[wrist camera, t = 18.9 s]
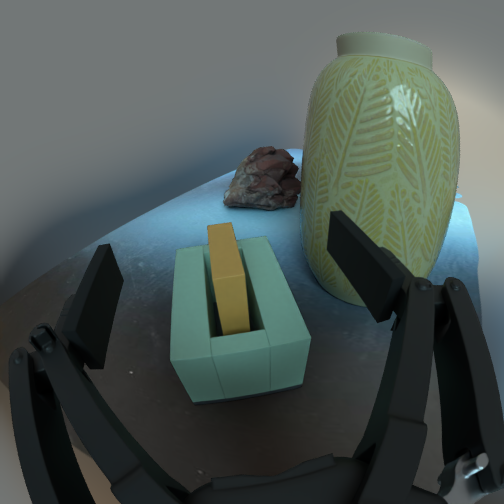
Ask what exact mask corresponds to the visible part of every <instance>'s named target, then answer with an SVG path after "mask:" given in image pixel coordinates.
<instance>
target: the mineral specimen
mask: <svg viewBox="0 0 504 504" xmlns="http://www.w3.org/2000/svg"><path fill="white" fill-rule="evenodd" d="M293 159H294V158H293V157H292V156H290V154H289V153H288V152H287V151H285V150H284V149H277V150H275V148H274V147H272V146H270V147H260V148H258V149H256V150H254V151H253V152H252V153H251V154H250V155H249V156H248V157H246V158H245V159H244V160H243V161H242V162H241V164H240V165H239V166H238V168H237V170H236V173H235V177H234V178H233V179H232V182H231V184H230V186H229V187H230V188H229V190H227V191H226V192H225V194H224V200H223V203H224V206H229V207H232V206H237V207H255V208H261V209H265V210H275V209H276V208H278V207H282V208H290V207H294V205H295V204H296V201H297V198H298V196H297V194H299V193H301V182H300V181H299V180H298V179H297V178H295V175H296V173H297V171H298V169H299V168H298V166H296V165H295V164H294V163H293Z"/></svg>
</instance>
